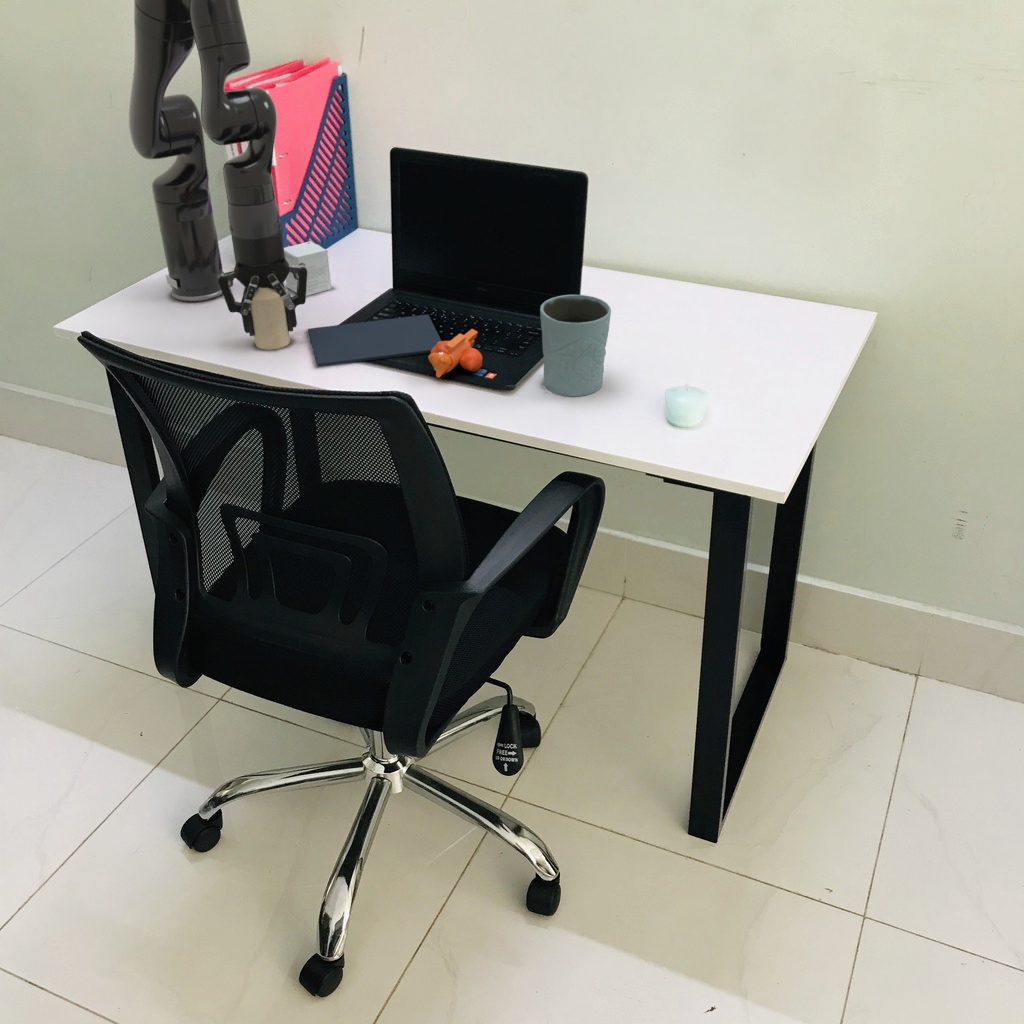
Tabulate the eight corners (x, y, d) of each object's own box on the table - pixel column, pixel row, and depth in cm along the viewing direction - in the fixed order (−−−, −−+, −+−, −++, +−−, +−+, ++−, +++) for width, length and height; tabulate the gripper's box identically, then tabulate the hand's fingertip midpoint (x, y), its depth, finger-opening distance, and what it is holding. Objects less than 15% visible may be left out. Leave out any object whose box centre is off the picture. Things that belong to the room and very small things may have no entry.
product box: (285, 287, 199) (280, 247, 195) (316, 279, 202) (311, 240, 198) (302, 297, 195) (296, 257, 191) (332, 289, 198) (328, 249, 194)
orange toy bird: (461, 315, 172) (423, 345, 163) (503, 337, 171) (466, 369, 162) (454, 342, 176) (415, 373, 167) (494, 364, 174) (458, 396, 165)
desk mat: (308, 331, 183) (308, 328, 183) (428, 317, 187) (428, 314, 187) (317, 366, 171) (317, 363, 171) (445, 350, 175) (445, 347, 175)
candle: (282, 351, 177) (274, 291, 171) (250, 349, 178) (240, 289, 172) (295, 337, 181) (287, 278, 176) (263, 335, 182) (254, 276, 177)
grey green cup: (560, 363, 171) (561, 289, 164) (620, 377, 166) (623, 301, 160) (527, 390, 163) (526, 313, 157) (589, 405, 159) (591, 327, 152)
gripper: (301, 216, 174) (313, 317, 183) (206, 225, 171) (224, 328, 180) (306, 231, 167) (318, 335, 177) (208, 241, 165) (226, 346, 174)
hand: (271, 331), depth 178 cm, fingers closed on candle, 5 cm apart
